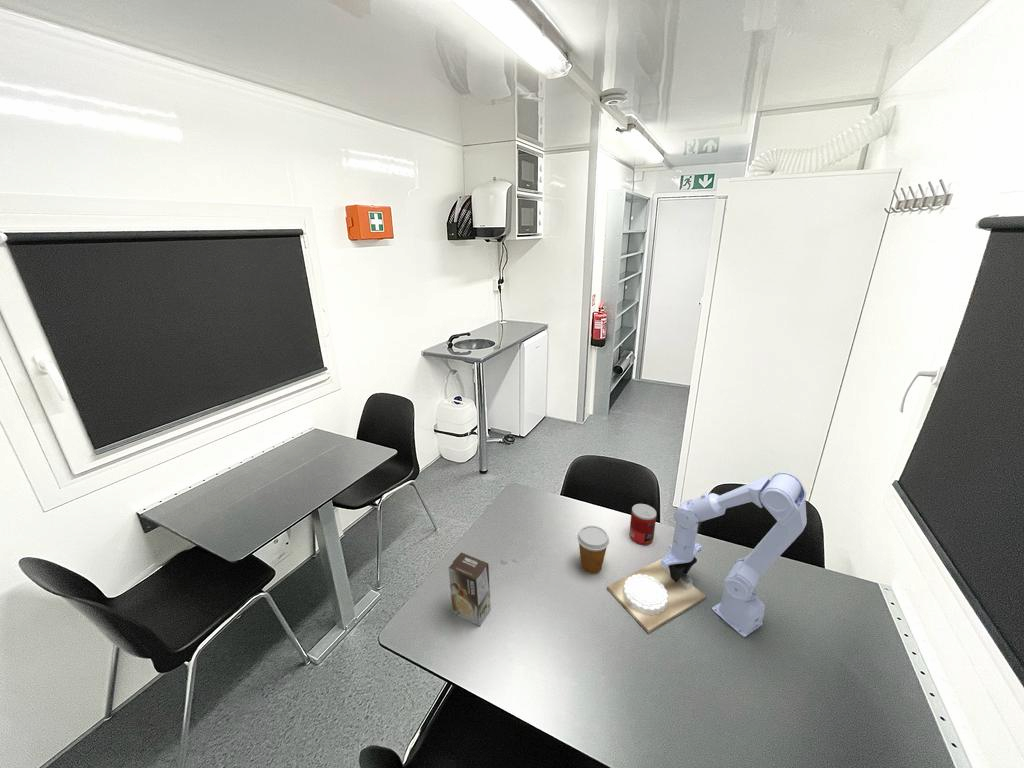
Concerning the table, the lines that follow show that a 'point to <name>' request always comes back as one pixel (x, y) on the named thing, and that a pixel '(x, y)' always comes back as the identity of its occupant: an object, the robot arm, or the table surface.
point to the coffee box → (470, 588)
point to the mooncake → (645, 594)
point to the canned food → (642, 524)
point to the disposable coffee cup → (592, 548)
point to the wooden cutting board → (678, 593)
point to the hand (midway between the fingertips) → (677, 577)
